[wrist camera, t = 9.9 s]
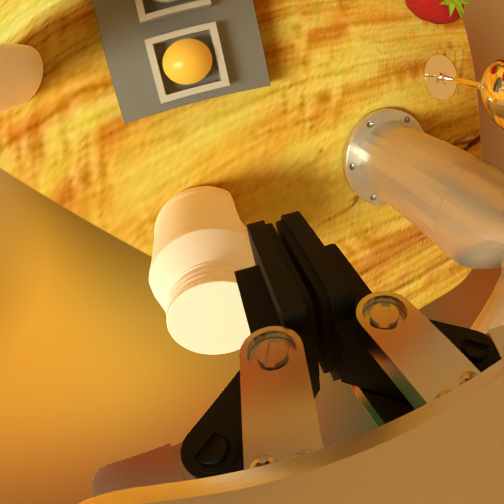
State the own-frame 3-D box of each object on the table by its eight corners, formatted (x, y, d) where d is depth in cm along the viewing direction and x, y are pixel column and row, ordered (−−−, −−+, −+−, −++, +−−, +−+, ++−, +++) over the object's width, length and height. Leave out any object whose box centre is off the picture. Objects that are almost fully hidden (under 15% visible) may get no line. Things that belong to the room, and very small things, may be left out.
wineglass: (416, 103, 33) (530, 147, 19) (417, 43, 29) (537, 59, 14) (458, 108, 34) (561, 151, 20) (460, 53, 30) (569, 79, 15)
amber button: (205, 35, 23) (206, 33, 22) (215, 77, 26) (216, 77, 24) (159, 47, 23) (157, 46, 22) (169, 89, 25) (168, 90, 24)
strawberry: (376, -16, 24) (432, -28, 16) (421, -20, 24) (477, -27, 16) (393, 28, 28) (451, 28, 20) (435, 21, 27) (493, 23, 19)
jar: (143, 211, 35) (126, 298, 22) (219, 171, 34) (243, 241, 22) (192, 282, 41) (201, 377, 29) (259, 250, 41) (295, 338, 28)
